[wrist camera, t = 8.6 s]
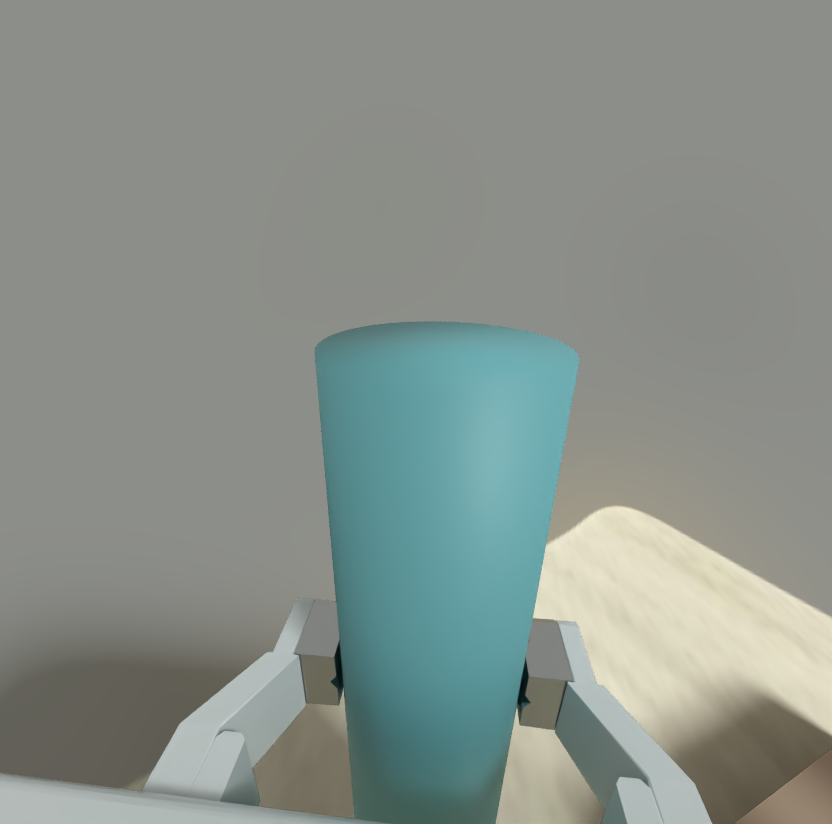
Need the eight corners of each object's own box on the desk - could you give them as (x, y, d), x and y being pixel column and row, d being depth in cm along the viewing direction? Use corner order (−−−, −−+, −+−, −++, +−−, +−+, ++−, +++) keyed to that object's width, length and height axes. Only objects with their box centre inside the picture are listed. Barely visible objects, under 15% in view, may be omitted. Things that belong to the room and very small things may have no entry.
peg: (382, 990, 12) (353, 410, 4) (345, 805, 15) (296, 329, 8) (511, 901, 13) (645, 368, 6) (449, 754, 17) (485, 317, 10)
